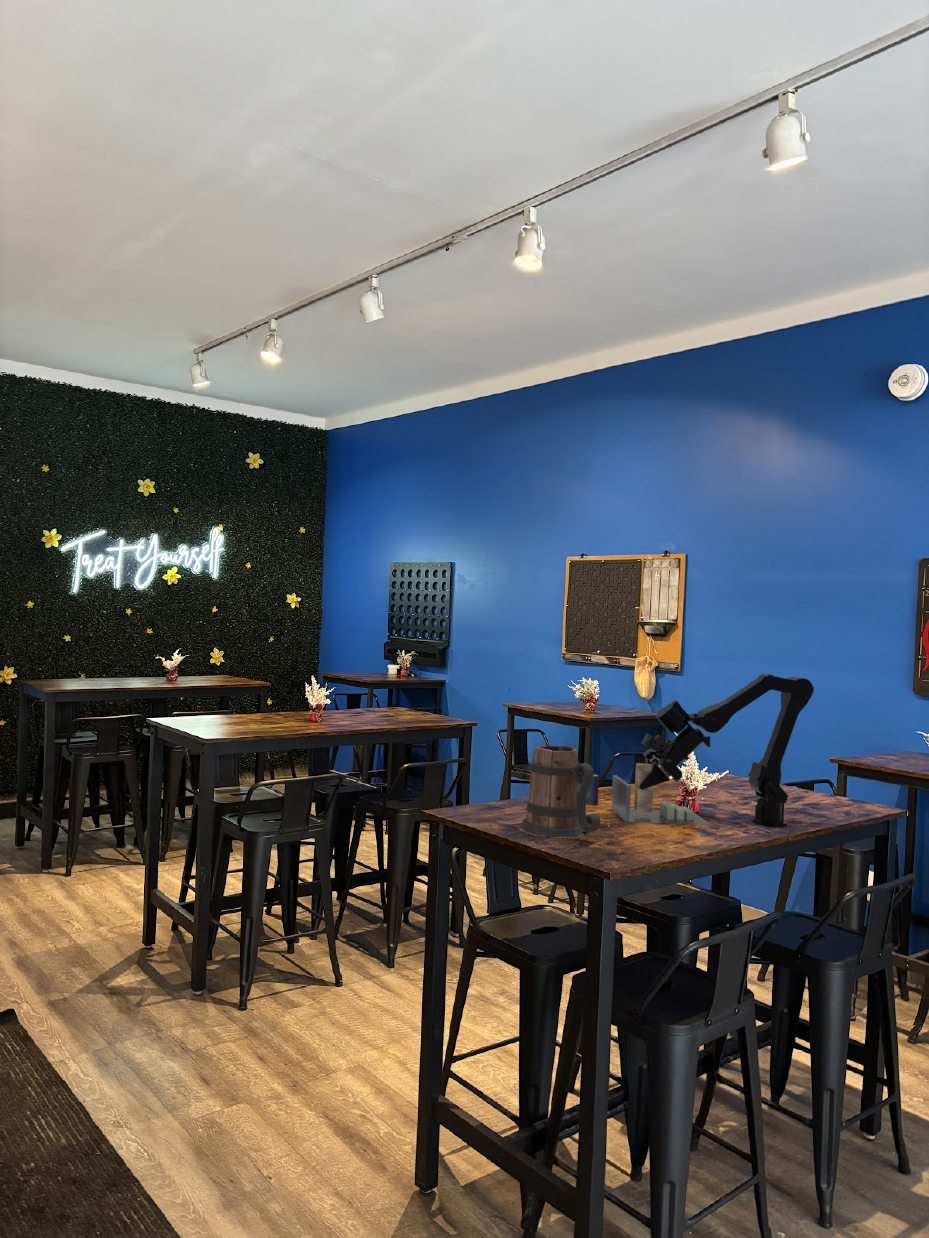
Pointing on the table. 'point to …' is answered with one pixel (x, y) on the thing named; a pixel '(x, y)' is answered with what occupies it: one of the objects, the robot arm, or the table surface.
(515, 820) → the table surface
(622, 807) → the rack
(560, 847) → the table surface
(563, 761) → the tankard
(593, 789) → the flask
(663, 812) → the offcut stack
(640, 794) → the birch block
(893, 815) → the table surface
